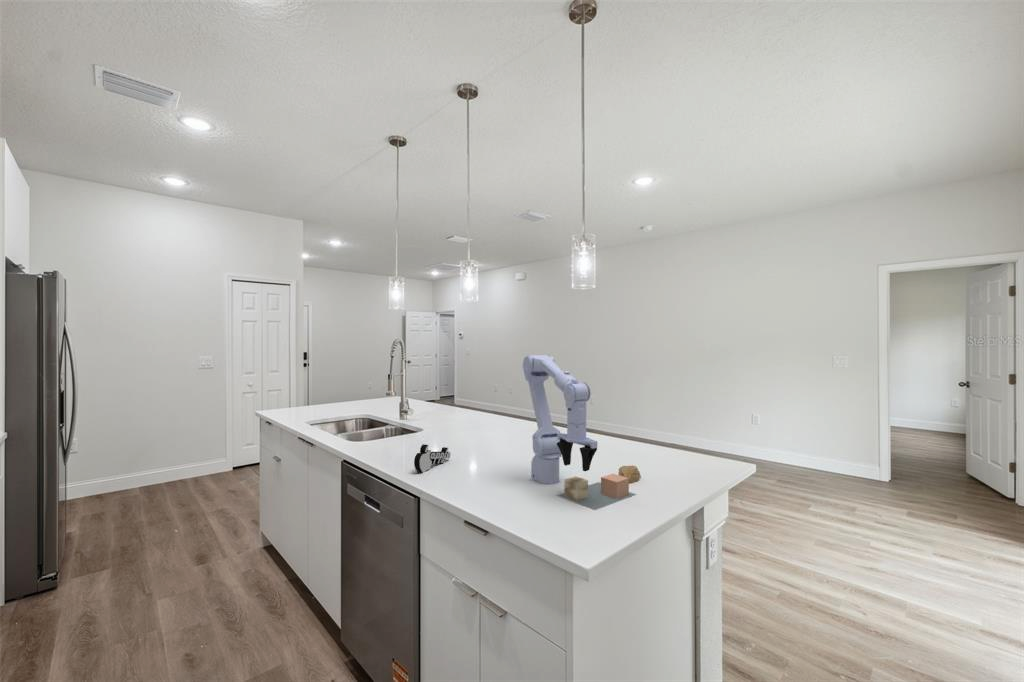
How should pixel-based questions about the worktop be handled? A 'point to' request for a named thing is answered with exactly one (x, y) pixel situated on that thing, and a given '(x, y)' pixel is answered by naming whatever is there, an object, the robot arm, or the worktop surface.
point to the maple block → (576, 488)
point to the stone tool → (630, 473)
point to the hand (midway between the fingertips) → (576, 467)
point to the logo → (429, 458)
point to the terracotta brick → (615, 486)
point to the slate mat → (596, 498)
